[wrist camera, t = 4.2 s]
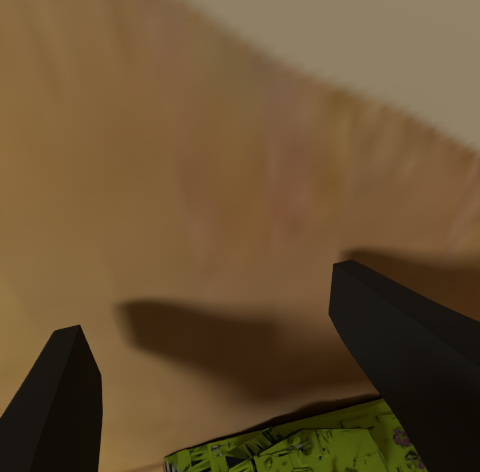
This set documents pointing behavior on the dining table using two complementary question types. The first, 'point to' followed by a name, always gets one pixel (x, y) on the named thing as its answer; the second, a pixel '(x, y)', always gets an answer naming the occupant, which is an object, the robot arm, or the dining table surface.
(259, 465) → the toy tank
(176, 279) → the dining table surface
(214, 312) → the dining table surface
